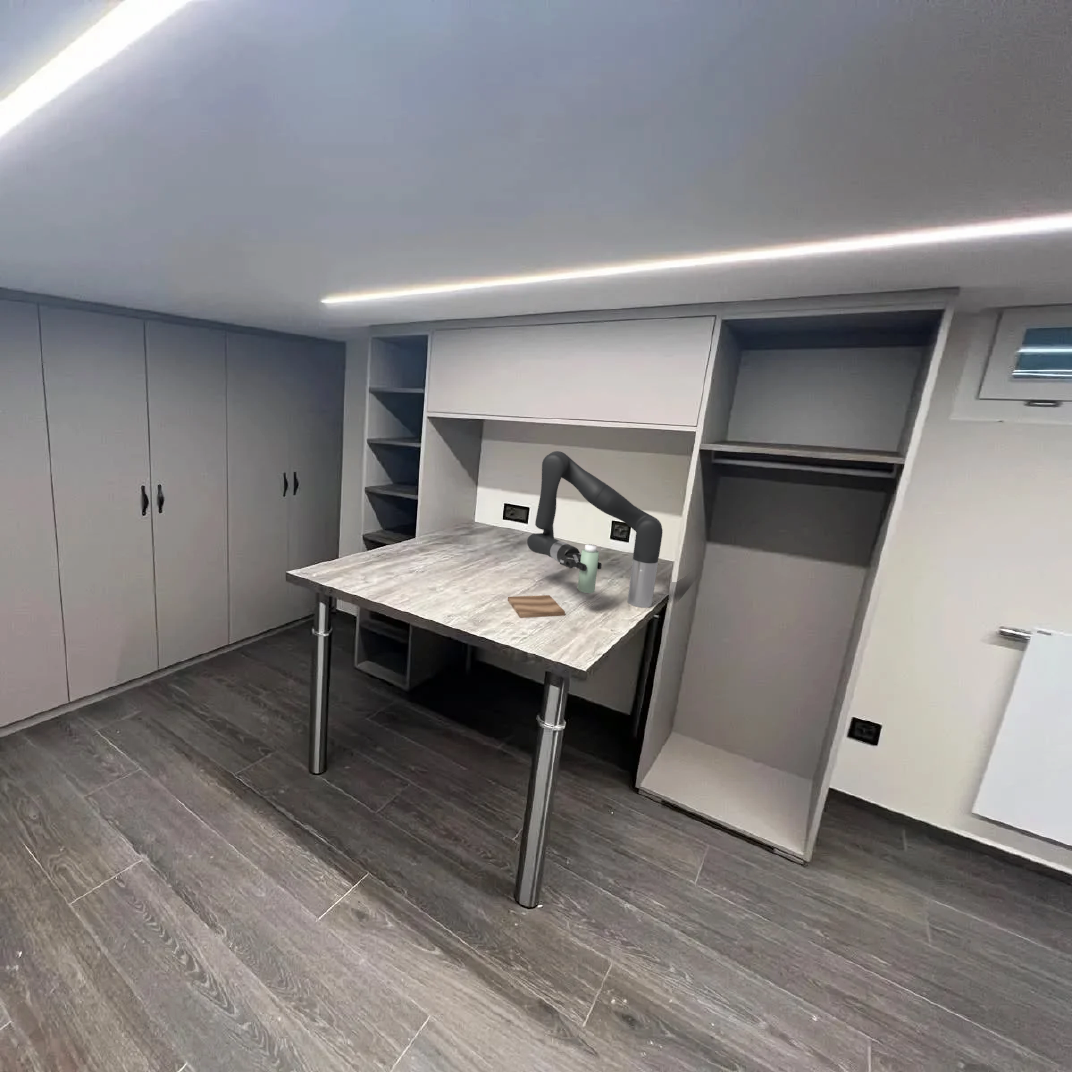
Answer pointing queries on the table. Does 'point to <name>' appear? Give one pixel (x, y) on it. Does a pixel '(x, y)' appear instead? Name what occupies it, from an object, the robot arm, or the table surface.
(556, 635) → the table surface
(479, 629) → the table surface
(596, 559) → the bottle
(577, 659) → the table surface
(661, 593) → the table surface
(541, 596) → the brown wooden flat square
